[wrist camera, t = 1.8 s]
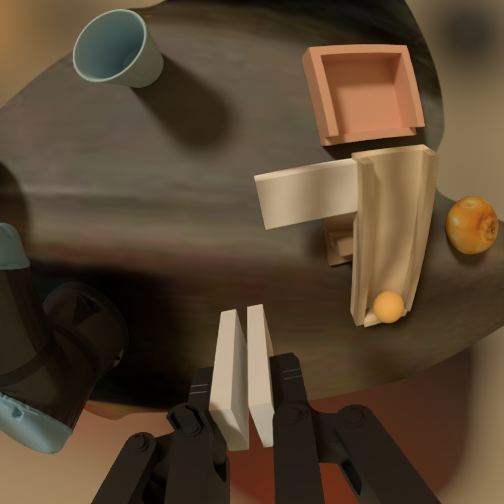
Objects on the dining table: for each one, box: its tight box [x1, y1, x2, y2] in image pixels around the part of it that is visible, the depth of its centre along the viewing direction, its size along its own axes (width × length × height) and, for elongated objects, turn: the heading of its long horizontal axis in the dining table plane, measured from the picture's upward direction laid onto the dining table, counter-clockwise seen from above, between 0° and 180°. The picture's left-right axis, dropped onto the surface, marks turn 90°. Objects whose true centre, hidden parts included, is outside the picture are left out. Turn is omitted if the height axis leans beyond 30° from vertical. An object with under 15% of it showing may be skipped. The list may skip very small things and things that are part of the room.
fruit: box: [446, 196, 499, 254], centre depth 34 cm, size 8×8×8 cm
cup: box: [73, 9, 164, 88], centre depth 25 cm, size 8×8×10 cm
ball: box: [373, 291, 404, 323], centre depth 34 cm, size 4×4×4 cm
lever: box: [254, 144, 439, 327], centre depth 31 cm, size 17×22×3 cm
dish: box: [301, 45, 425, 146], centre depth 29 cm, size 12×11×4 cm
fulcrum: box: [322, 212, 353, 266], centre depth 35 cm, size 12×7×5 cm, turn 102°
